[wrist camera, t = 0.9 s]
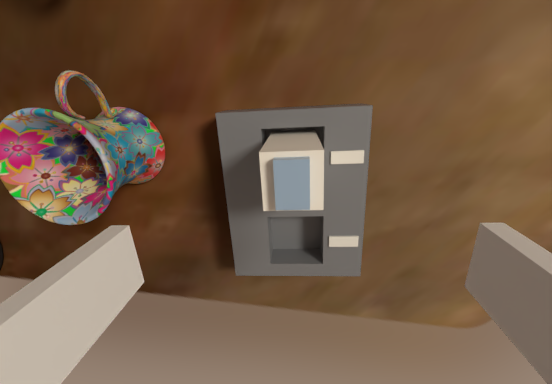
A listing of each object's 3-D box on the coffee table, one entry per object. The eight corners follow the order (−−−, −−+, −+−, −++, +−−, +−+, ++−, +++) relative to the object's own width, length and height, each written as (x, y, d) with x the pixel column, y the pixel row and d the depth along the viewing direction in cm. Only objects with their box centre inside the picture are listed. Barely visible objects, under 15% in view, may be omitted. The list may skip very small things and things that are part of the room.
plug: (274, 172, 29) (262, 215, 19) (271, 131, 27) (257, 154, 17) (314, 171, 28) (324, 214, 18) (314, 130, 27) (325, 152, 17)
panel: (242, 255, 34) (235, 276, 30) (226, 110, 28) (214, 113, 24) (353, 255, 33) (360, 277, 29) (362, 103, 27) (373, 105, 23)
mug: (170, 191, 32) (112, 236, 22) (94, 175, 32) (2, 212, 22) (176, 86, 27) (107, 82, 17) (88, 67, 27) (-30, 52, 17)
